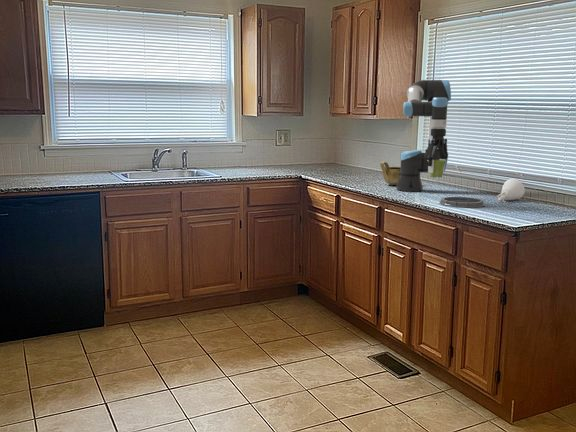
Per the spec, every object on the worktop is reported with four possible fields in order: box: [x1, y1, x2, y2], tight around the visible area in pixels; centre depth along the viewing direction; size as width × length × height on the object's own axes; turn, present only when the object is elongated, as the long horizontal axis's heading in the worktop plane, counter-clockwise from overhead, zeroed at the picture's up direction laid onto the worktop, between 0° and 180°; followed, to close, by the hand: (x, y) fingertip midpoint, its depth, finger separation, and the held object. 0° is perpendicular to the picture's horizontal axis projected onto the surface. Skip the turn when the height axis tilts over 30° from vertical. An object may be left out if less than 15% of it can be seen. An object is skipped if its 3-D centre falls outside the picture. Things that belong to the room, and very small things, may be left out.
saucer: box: [438, 196, 485, 209], centre depth 299 cm, size 22×22×2 cm
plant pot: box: [427, 160, 446, 178], centre depth 305 cm, size 9×9×9 cm
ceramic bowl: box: [379, 161, 401, 187], centre depth 368 cm, size 22×17×15 cm
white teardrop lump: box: [496, 178, 526, 204], centre depth 310 cm, size 12×12×18 cm
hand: (436, 172), depth 305 cm, fingers closed on plant pot, 9 cm apart
